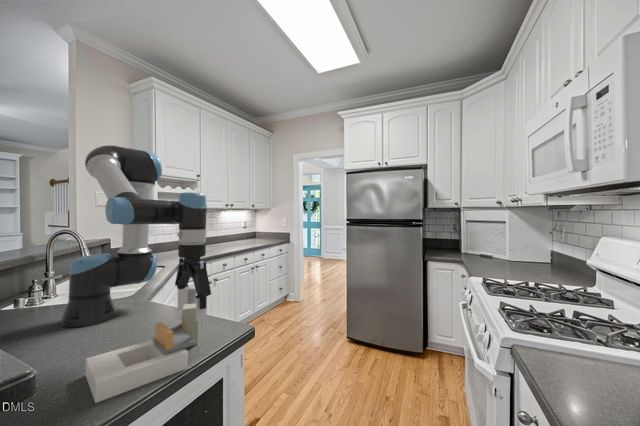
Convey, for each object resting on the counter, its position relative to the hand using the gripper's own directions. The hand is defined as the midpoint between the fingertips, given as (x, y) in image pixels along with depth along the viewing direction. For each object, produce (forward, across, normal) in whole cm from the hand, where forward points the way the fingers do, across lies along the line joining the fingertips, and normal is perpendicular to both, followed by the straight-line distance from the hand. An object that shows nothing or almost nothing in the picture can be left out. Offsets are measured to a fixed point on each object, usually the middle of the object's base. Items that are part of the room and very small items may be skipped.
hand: (191, 314), depth 82 cm
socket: (+9, +6, -15) cm, 19 cm away
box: (+9, 0, 0) cm, 9 cm away
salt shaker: (+8, -16, +6) cm, 19 cm away
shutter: (+4, +7, -7) cm, 10 cm away
